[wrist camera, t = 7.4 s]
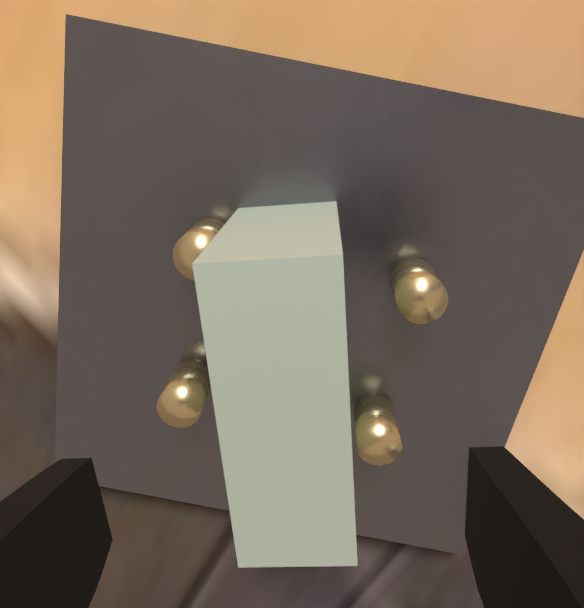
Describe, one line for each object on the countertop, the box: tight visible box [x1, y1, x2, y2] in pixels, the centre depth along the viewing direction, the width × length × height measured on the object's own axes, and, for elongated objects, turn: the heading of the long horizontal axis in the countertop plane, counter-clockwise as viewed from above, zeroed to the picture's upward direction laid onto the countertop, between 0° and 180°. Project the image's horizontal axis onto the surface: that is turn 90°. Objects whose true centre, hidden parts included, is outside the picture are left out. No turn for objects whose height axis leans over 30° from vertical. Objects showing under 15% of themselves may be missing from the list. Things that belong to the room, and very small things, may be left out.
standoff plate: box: [55, 14, 584, 555], centre depth 17 cm, size 16×16×3 cm
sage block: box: [192, 201, 358, 567], centre depth 15 cm, size 3×8×6 cm, turn 4°
